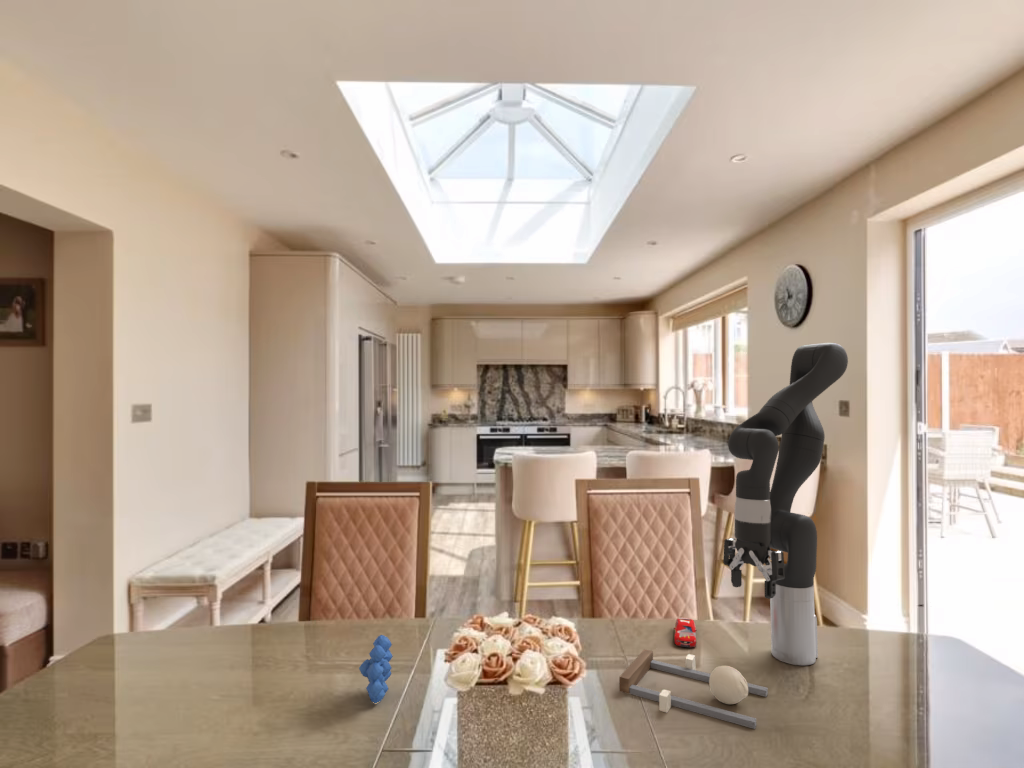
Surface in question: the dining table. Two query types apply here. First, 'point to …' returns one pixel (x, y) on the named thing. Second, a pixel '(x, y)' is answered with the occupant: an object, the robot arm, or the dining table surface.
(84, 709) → the dining table surface
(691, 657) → the line posts
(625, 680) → the backstop
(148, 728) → the dining table surface
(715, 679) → the cream round ball
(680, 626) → the race car
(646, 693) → the rails
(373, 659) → the grapes
